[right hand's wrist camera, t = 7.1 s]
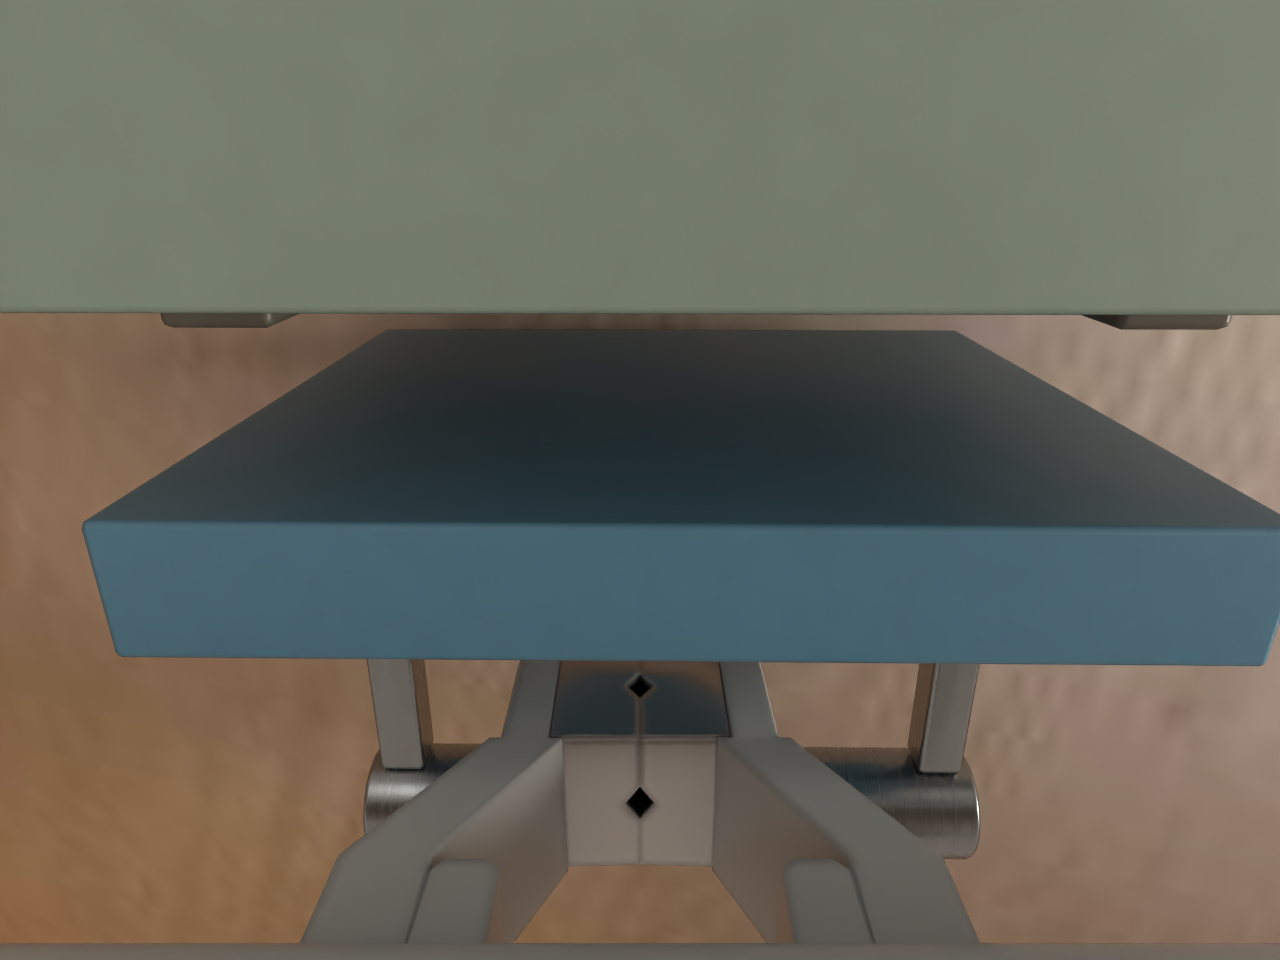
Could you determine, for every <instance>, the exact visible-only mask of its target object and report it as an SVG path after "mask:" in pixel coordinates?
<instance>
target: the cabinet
mask: <svg viewBox="0 0 1280 960" xmlns="http://www.w3.org/2000/svg"><path fill="white" fill-rule="evenodd" d="M0 313H363V314H936V315H1280V0H0Z"/></svg>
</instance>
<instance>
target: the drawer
mask: <svg viewBox="0 0 1280 960" xmlns="http://www.w3.org/2000/svg"><path fill="white" fill-rule="evenodd" d="M160 314H161V318H162V321H163V322H164V324H165V325H168V326H171V327H174V328H267V327H270V326H272V325H274V324H276V323H279V322H281V321H283V320H286V319H288V318H290V317H293V316H295V315H297V314H300V313H160ZM1083 316H1085V317H1088V318H1091V319H1094V320H1096V321H1099V322H1102V323H1105V324H1108V325H1110V326H1113V327H1116V328H1119V329H1187V330H1217V329H1220V328H1224V327H1227V326H1228V324H1229V323H1230V321H1231V318H1232V315H1083ZM82 531H83V535H84V538H85V542H86V546H87V549H88V553H89V557H90V560H91V564H92V567H93V571H94V575H95V578H96V582H97V586H98V589H99V593H100V596H101V600H102V604H103V607H104V611H105V615H106V618H107V622H108V625H109V629H110V633H111V636H112V640H113V644H114V647H115V651H116V653H117V654H118V655H119V656H122V657H198V658H322V659H367V664H368V671H369V678H370V685H371V692H372V699H373V705H374V712H375V719H376V726H377V733H378V740H379V747H380V749H379V751H378V752H377V754H376V756H375V758H374V760H373V763H372V766H371V769H370V772H369V776H368V780H367V785H366V790H365V798H364V811H363V822H364V833H365V834H367V833H368V832H369V831H370V830H372V829H373V828H374V827H376V826H377V825H378V824H379V823H381V822H382V821H383V820H385V819H386V818H387V817H388V816H390V815H391V814H392V813H394V812H395V811H396V810H397V809H399V808H400V807H401V806H403V805H404V804H405V803H406V802H408V801H409V800H410V799H412V798H413V797H414V796H415V795H417V794H418V793H419V792H420V791H422V790H423V789H424V788H426V787H427V786H428V785H429V784H431V783H432V782H433V781H435V780H436V779H437V778H438V777H440V776H441V775H442V774H444V773H445V772H446V771H447V770H449V769H450V768H451V767H453V766H454V765H455V764H456V763H458V762H459V761H460V760H462V759H463V758H464V757H465V756H467V755H468V754H469V753H471V752H472V751H473V750H474V749H476V748H477V747H478V746H480V745H481V744H444V743H433V742H434V740H433V731H432V723H431V714H430V705H429V696H428V688H427V679H426V670H425V661H424V659H447V660H571V661H695V662H820V663H920V664H919V671H918V678H917V685H916V691H915V698H914V705H913V712H912V719H911V726H910V732H909V739H908V748H862V747H803V748H804V749H806V750H807V751H808V752H809V753H811V754H812V755H813V756H815V757H816V758H817V759H818V760H820V761H821V762H822V763H823V764H825V765H826V766H827V767H829V768H830V769H831V770H832V771H834V772H835V773H836V774H838V775H839V776H840V777H841V778H843V779H844V780H845V781H846V782H848V783H849V784H850V785H852V786H853V787H854V788H855V789H857V790H858V791H859V792H861V793H862V794H863V795H864V796H866V797H867V798H868V799H869V800H871V801H872V802H873V803H875V804H876V805H877V806H878V807H880V808H881V809H882V810H884V811H885V812H886V813H887V814H889V815H890V816H891V817H892V818H894V819H895V820H896V821H898V822H899V823H900V824H901V825H903V826H904V827H905V828H907V829H908V830H909V831H910V832H912V833H913V834H914V835H915V836H917V837H918V838H919V839H921V840H922V841H923V842H924V843H926V844H927V845H928V846H930V847H931V848H932V849H933V850H935V851H936V852H937V853H938V854H940V855H941V856H942V857H943V859H968V858H970V857H971V856H973V854H974V853H975V851H976V849H977V846H978V842H979V835H980V808H979V800H978V794H977V790H976V785H975V782H974V778H973V775H972V772H971V770H970V767H969V765H968V763H967V761H966V759H965V758H964V756H963V754H964V749H965V743H966V738H967V732H968V726H969V721H970V715H971V709H972V704H973V698H974V693H975V687H976V681H977V676H978V670H979V664H1069V665H1193V666H1261V665H1263V664H1264V663H1265V662H1266V661H1267V658H1268V655H1269V652H1270V649H1271V646H1272V643H1273V640H1274V637H1275V634H1276V631H1277V628H1278V625H1279V622H1280V514H1279V513H1277V512H1275V511H1274V510H1272V509H1270V508H1268V507H1266V506H1265V505H1263V504H1261V503H1259V502H1258V501H1256V500H1254V499H1252V498H1251V497H1249V496H1247V495H1245V494H1243V493H1242V492H1240V491H1238V490H1236V489H1235V488H1233V487H1231V486H1229V485H1227V484H1226V483H1224V482H1222V481H1220V480H1219V479H1217V478H1215V477H1213V476H1212V475H1210V474H1208V473H1206V472H1204V471H1203V470H1201V469H1199V468H1197V467H1196V466H1194V465H1192V464H1190V463H1188V462H1187V461H1185V460H1183V459H1181V458H1180V457H1178V456H1176V455H1174V454H1173V453H1171V452H1169V451H1167V450H1165V449H1164V448H1162V447H1160V446H1158V445H1157V444H1155V443H1153V442H1151V441H1149V440H1148V439H1146V438H1144V437H1142V436H1141V435H1139V434H1137V433H1135V432H1134V431H1132V430H1130V429H1128V428H1126V427H1125V426H1123V425H1121V424H1119V423H1118V422H1116V421H1114V420H1112V419H1110V418H1109V417H1107V416H1105V415H1103V414H1102V413H1100V412H1098V411H1096V410H1095V409H1093V408H1091V407H1089V406H1087V405H1086V404H1084V403H1082V402H1080V401H1079V400H1077V399H1075V398H1073V397H1072V396H1070V395H1068V394H1066V393H1064V392H1063V391H1061V390H1059V389H1057V388H1056V387H1054V386H1052V385H1050V384H1048V383H1047V382H1045V381H1043V380H1041V379H1040V378H1038V377H1036V376H1034V375H1033V374H1031V373H1029V372H1027V371H1025V370H1024V369H1022V368H1020V367H1018V366H1017V365H1015V364H1013V363H1011V362H1009V361H1008V360H1006V359H1004V358H1002V357H1001V356H999V355H997V354H995V353H994V352H992V351H990V350H988V349H986V348H985V347H983V346H981V345H979V344H978V343H976V342H974V341H972V340H970V339H969V338H967V337H965V336H963V335H962V334H960V333H958V332H956V331H876V330H386V331H384V332H382V333H381V334H379V335H378V336H376V337H375V338H373V339H371V340H370V341H368V342H367V343H365V344H363V345H362V346H360V347H359V348H357V349H356V350H354V351H352V352H351V353H349V354H348V355H346V356H345V357H343V358H341V359H340V360H338V361H337V362H335V363H333V364H332V365H330V366H329V367H327V368H326V369H324V370H322V371H321V372H319V373H318V374H316V375H315V376H313V377H311V378H310V379H308V380H307V381H305V382H303V383H302V384H300V385H299V386H297V387H296V388H294V389H292V390H291V391H289V392H288V393H286V394H285V395H283V396H281V397H280V398H278V399H277V400H275V401H274V402H272V403H270V404H269V405H267V406H266V407H264V408H262V409H261V410H259V411H258V412H256V413H255V414H253V415H251V416H250V417H248V418H247V419H245V420H244V421H242V422H240V423H239V424H237V425H236V426H234V427H232V428H231V429H229V430H228V431H226V432H225V433H223V434H221V435H220V436H218V437H217V438H215V439H214V440H212V441H210V442H209V443H207V444H206V445H204V446H202V447H201V448H199V449H198V450H196V451H195V452H193V453H191V454H190V455H188V456H187V457H185V458H184V459H182V460H180V461H179V462H177V463H176V464H174V465H173V466H171V467H169V468H168V469H166V470H165V471H163V472H161V473H160V474H158V475H157V476H155V477H154V478H152V479H150V480H149V481H147V482H146V483H144V484H143V485H141V486H139V487H138V488H136V489H135V490H133V491H131V492H130V493H128V494H127V495H125V496H124V497H122V498H120V499H119V500H117V501H116V502H114V503H113V504H111V505H109V506H108V507H106V508H105V509H103V510H101V511H100V512H98V513H97V514H95V515H94V516H92V517H90V518H89V519H87V520H86V521H84V523H83V525H82Z"/></svg>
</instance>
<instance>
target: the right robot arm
mask: <svg viewBox="0 0 1280 960" xmlns="http://www.w3.org/2000/svg"><path fill="white" fill-rule="evenodd" d="M634 864H644V865H679V866H712V870H713V871H714V873H715V874H716V875H717V877H718V878H719V879H720V881H721V882H722V883H723V885H724V886H725V888H726V889H727V890H728V892H729V893H730V894H731V896H732V897H733V898H734V900H735V901H736V902H737V904H738V905H739V906H740V908H741V909H742V910H743V912H744V913H745V914H746V916H747V917H748V918H749V920H750V921H751V922H752V924H753V925H754V926H755V928H756V929H757V930H758V932H759V933H760V934H761V936H762V937H763V938H764V940H765V941H766V942H767V943H514V941H515V940H516V939H517V937H518V936H519V935H520V934H521V932H522V931H523V930H524V928H525V927H526V926H527V924H528V923H529V922H530V920H531V919H532V918H533V916H534V915H535V914H536V912H537V911H538V910H539V908H540V907H541V906H542V904H543V903H544V902H545V900H546V899H547V898H548V896H549V895H550V894H551V892H552V891H553V890H554V888H555V887H556V886H557V884H558V883H559V882H560V880H561V879H562V878H563V876H564V875H565V874H566V872H567V871H568V866H600V865H634ZM0 960H1280V943H980V942H979V940H978V937H977V935H976V933H975V930H974V928H973V926H972V923H971V921H970V919H969V916H968V914H967V912H966V910H965V907H964V905H963V903H962V900H961V898H960V896H959V893H958V891H957V889H956V886H955V884H954V882H953V880H952V877H951V875H950V873H949V870H948V868H947V866H946V863H945V861H944V859H943V857H942V856H941V855H940V854H938V853H937V852H936V851H935V850H933V849H932V848H931V847H930V846H928V845H927V844H926V843H924V842H923V841H922V840H921V839H919V838H918V837H917V836H915V835H914V834H913V833H912V832H910V831H909V830H908V829H907V828H905V827H904V826H903V825H901V824H900V823H899V822H898V821H896V820H895V819H894V818H892V817H891V816H890V815H889V814H887V813H886V812H885V811H884V810H882V809H881V808H880V807H878V806H877V805H876V804H875V803H873V802H872V801H871V800H869V799H868V798H867V797H866V796H864V795H863V794H862V793H861V792H859V791H858V790H857V789H855V788H854V787H853V786H852V785H850V784H849V783H848V782H846V781H845V780H844V779H843V778H841V777H840V776H839V775H838V774H836V773H835V772H834V771H832V770H831V769H830V768H829V767H827V766H826V765H825V764H823V763H822V762H821V761H820V760H818V759H817V758H816V757H815V756H813V755H812V754H811V753H809V752H808V751H807V750H806V749H804V748H803V747H802V746H800V745H799V744H798V743H797V742H795V741H794V740H793V739H791V738H779V736H778V732H777V728H776V723H775V719H774V715H773V711H772V707H771V703H770V699H769V695H768V691H767V687H766V683H765V679H764V675H763V670H762V666H761V662H695V661H571V660H521V661H520V662H519V665H518V670H517V674H516V678H515V682H514V686H513V690H512V694H511V698H510V703H509V707H508V711H507V715H506V719H505V723H504V727H503V731H502V736H501V738H489V739H487V740H486V741H485V742H483V743H482V744H481V745H480V746H478V747H477V748H476V749H474V750H473V751H472V752H471V753H469V754H468V755H467V756H465V757H464V758H463V759H462V760H460V761H459V762H458V763H456V764H455V765H454V766H453V767H451V768H450V769H449V770H447V771H446V772H445V773H444V774H442V775H441V776H440V777H438V778H437V779H436V780H435V781H433V782H432V783H431V784H429V785H428V786H427V787H426V788H424V789H423V790H422V791H420V792H419V793H418V794H417V795H415V796H414V797H413V798H412V799H410V800H409V801H408V802H406V803H405V804H404V805H403V806H401V807H400V808H399V809H397V810H396V811H395V812H394V813H392V814H391V815H390V816H388V817H387V818H386V819H385V820H383V821H382V822H381V823H379V824H378V825H377V826H376V827H374V828H373V829H372V830H370V831H369V832H368V833H367V834H365V835H364V836H363V837H361V838H360V839H359V840H358V841H356V842H355V843H354V844H352V845H351V846H350V847H349V848H347V849H346V850H345V851H343V852H342V853H341V854H340V855H338V857H337V860H336V862H335V864H334V867H333V869H332V871H331V873H330V876H329V878H328V880H327V882H326V885H325V887H324V889H323V892H322V894H321V896H320V898H319V901H318V903H317V905H316V908H315V910H314V912H313V914H312V917H311V919H310V921H309V923H308V926H307V928H306V930H305V933H304V935H303V937H302V939H301V942H300V943H0Z"/></svg>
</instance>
